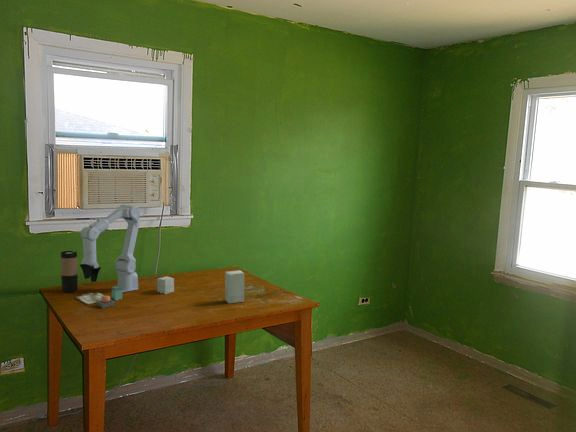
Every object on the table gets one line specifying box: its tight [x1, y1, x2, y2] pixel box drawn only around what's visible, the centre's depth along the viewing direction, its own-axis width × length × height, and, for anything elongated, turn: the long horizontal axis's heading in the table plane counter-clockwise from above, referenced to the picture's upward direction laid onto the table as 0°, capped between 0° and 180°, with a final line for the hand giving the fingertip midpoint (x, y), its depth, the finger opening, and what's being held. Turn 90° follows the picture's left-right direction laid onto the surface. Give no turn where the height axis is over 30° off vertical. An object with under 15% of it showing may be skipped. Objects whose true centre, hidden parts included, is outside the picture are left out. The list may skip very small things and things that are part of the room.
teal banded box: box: [111, 285, 123, 301], centre depth 236 cm, size 4×4×6 cm
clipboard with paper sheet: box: [74, 292, 114, 306], centre depth 235 cm, size 12×15×1 cm
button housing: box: [96, 298, 116, 309], centre depth 226 cm, size 6×6×2 cm
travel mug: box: [60, 250, 79, 294], centre depth 247 cm, size 8×8×20 cm
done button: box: [102, 295, 111, 303], centre depth 226 cm, size 4×4×3 cm
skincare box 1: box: [157, 276, 175, 295], centre depth 251 cm, size 6×6×7 cm
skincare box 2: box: [224, 269, 245, 304], centre depth 238 cm, size 8×6×15 cm
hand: (90, 280), depth 233 cm, fingers open, 7 cm apart
